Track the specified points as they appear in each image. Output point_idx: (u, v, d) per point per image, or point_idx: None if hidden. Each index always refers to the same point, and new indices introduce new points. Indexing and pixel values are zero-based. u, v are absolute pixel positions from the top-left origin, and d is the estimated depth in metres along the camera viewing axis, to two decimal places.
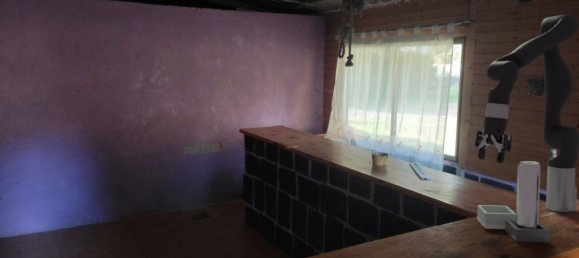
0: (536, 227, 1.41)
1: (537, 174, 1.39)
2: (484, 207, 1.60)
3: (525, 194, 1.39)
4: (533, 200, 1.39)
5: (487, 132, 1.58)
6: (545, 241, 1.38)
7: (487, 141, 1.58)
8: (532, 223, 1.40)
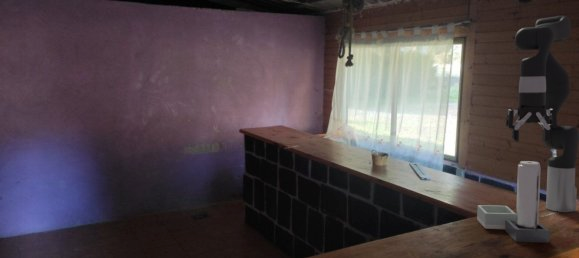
0: (536, 227, 1.41)
1: (537, 174, 1.39)
2: (484, 207, 1.60)
3: (525, 194, 1.39)
4: (533, 200, 1.39)
5: (526, 110, 1.38)
6: (545, 241, 1.38)
7: (527, 120, 1.39)
8: (532, 223, 1.40)
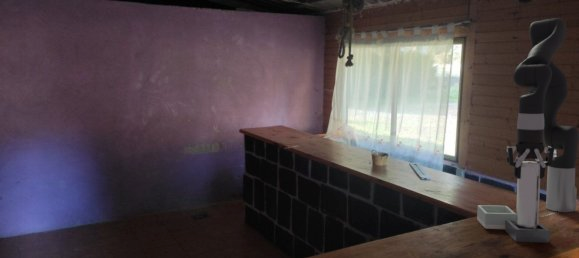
0: (536, 227, 1.41)
1: (537, 174, 1.39)
2: (484, 207, 1.60)
3: (525, 194, 1.39)
4: (533, 200, 1.39)
5: (524, 146, 1.39)
6: (545, 241, 1.38)
7: (527, 156, 1.40)
8: (532, 223, 1.40)
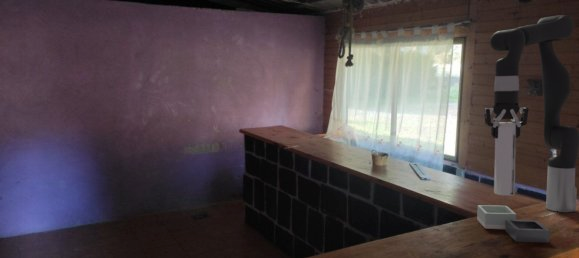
0: (513, 183, 1.50)
1: (513, 133, 1.47)
2: (484, 207, 1.60)
3: (502, 152, 1.48)
4: (510, 158, 1.48)
5: (501, 107, 1.48)
6: (545, 241, 1.38)
7: (503, 116, 1.48)
8: (509, 179, 1.48)
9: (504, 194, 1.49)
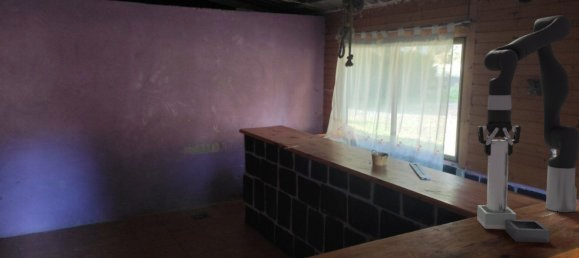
0: (505, 200, 1.53)
1: (505, 151, 1.51)
2: (484, 207, 1.60)
3: (495, 169, 1.52)
4: (502, 175, 1.51)
5: (493, 125, 1.52)
6: (545, 241, 1.38)
7: (496, 134, 1.52)
8: (501, 196, 1.52)
9: (496, 210, 1.53)
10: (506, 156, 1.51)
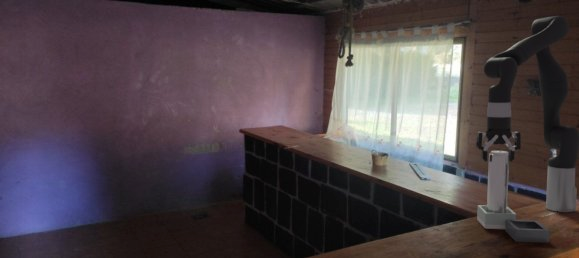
0: (505, 211, 1.53)
1: (506, 162, 1.51)
2: (484, 207, 1.60)
3: (495, 180, 1.52)
4: (502, 186, 1.51)
5: (493, 132, 1.52)
6: (545, 241, 1.38)
7: (495, 142, 1.52)
8: (501, 207, 1.52)
9: None
10: (506, 167, 1.52)
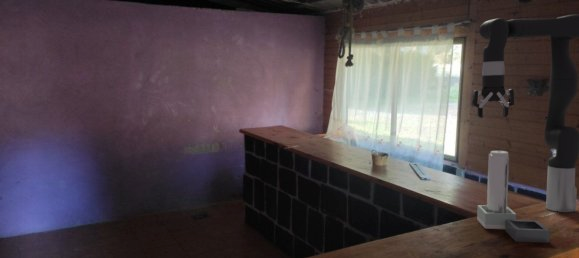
0: (505, 211, 1.53)
1: (505, 162, 1.51)
2: (484, 207, 1.60)
3: (495, 180, 1.52)
4: (502, 186, 1.51)
5: (488, 90, 1.61)
6: (545, 241, 1.38)
7: (489, 99, 1.62)
8: (501, 207, 1.52)
9: None
10: (506, 167, 1.52)
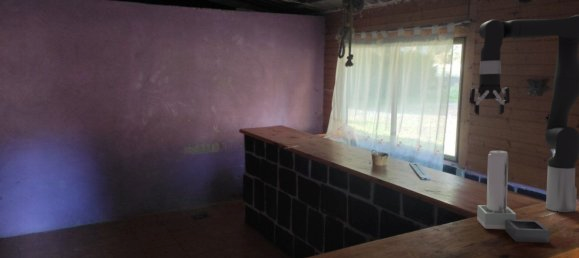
0: (504, 211, 1.53)
1: (505, 162, 1.51)
2: (484, 207, 1.60)
3: (494, 180, 1.52)
4: (501, 186, 1.51)
5: (485, 88, 1.69)
6: (545, 241, 1.38)
7: (486, 96, 1.69)
8: (501, 207, 1.52)
9: None
10: (505, 167, 1.52)
